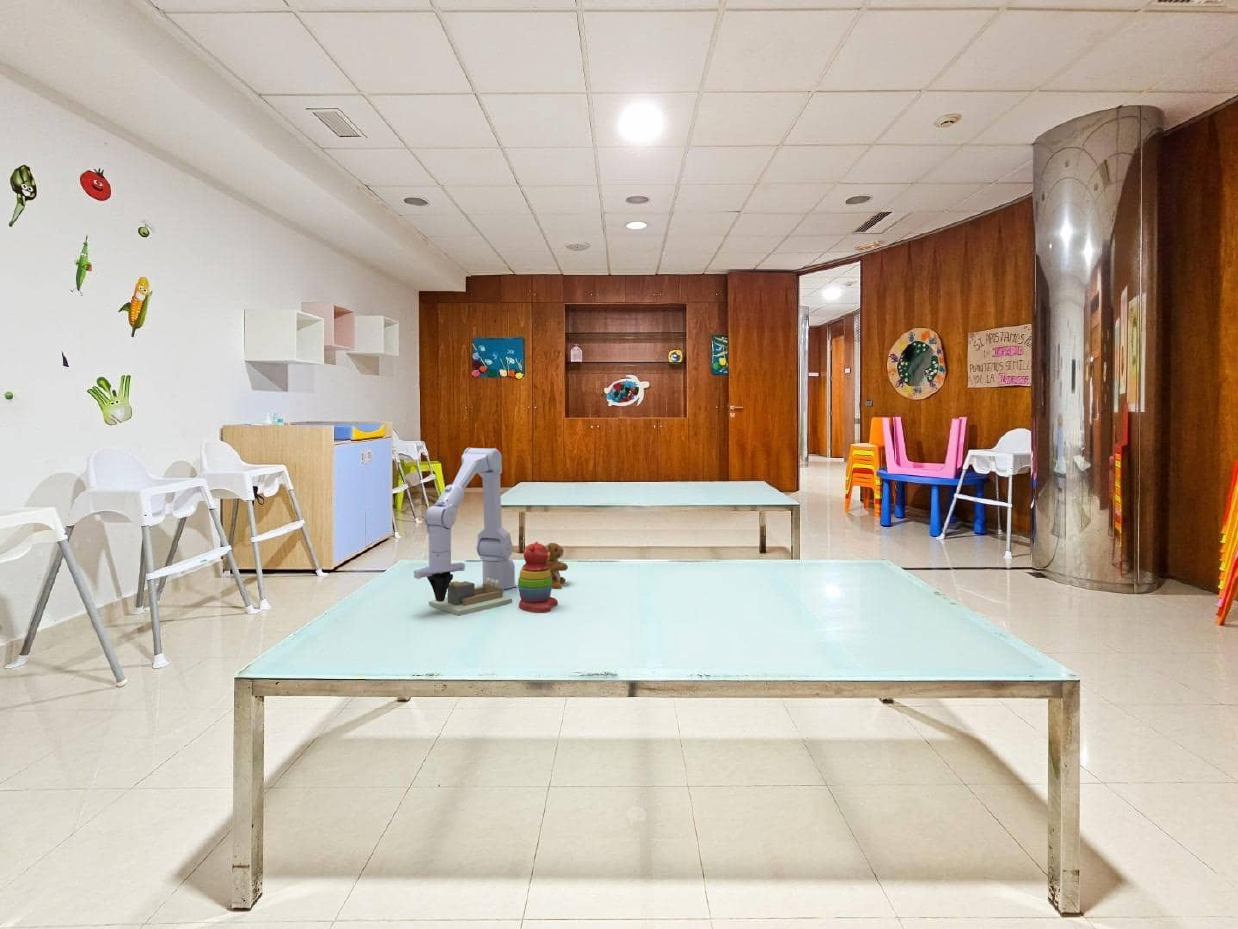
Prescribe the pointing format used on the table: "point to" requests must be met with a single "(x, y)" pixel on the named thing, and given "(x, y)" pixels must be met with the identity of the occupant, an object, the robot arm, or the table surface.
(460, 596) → the plug block
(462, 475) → the robot arm
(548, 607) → the stacking bear
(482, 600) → the board
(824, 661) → the table surface
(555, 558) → the brown teddy bear
